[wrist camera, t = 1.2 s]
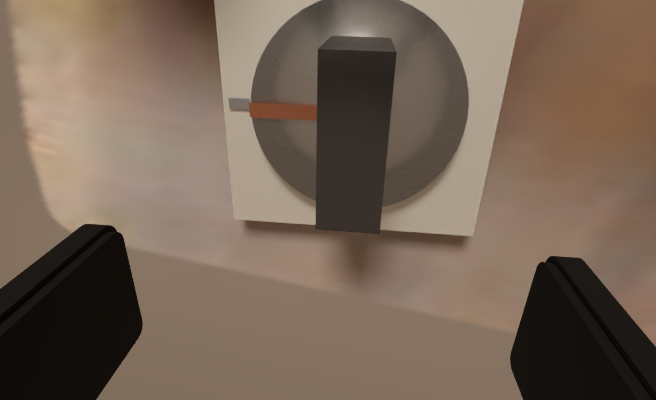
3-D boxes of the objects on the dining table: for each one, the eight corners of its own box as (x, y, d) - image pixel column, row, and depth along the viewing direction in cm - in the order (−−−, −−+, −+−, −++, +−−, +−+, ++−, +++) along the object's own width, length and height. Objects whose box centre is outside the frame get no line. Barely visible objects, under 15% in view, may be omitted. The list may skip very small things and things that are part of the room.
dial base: (521, -46, 21) (536, -50, 19) (466, 221, 28) (473, 238, 26) (222, -52, 22) (207, -56, 20) (242, 205, 30) (233, 220, 28)
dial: (484, -5, 20) (533, -5, 14) (447, 208, 26) (470, 276, 19) (248, -11, 21) (197, -14, 15) (260, 196, 27) (226, 257, 20)
